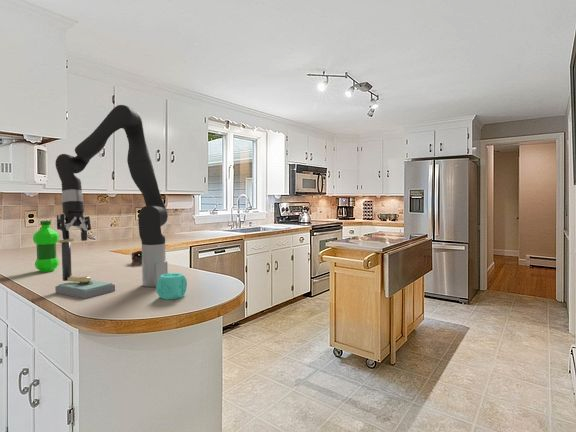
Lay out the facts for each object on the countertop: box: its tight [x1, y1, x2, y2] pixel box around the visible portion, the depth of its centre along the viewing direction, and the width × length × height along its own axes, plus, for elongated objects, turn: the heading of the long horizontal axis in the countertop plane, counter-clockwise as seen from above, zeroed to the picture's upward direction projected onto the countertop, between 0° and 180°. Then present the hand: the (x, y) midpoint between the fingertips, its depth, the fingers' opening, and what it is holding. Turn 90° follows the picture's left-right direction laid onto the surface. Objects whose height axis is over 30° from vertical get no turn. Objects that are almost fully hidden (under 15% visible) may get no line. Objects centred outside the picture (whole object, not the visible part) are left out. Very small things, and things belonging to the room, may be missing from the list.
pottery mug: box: [131, 250, 142, 266], centre depth 191 cm, size 12×10×8 cm
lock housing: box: [55, 279, 116, 299], centre depth 133 cm, size 18×12×3 cm, turn 63°
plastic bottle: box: [32, 220, 60, 273], centre depth 172 cm, size 10×10×25 cm
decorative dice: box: [155, 272, 188, 301], centre depth 127 cm, size 8×8×8 cm
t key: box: [57, 238, 92, 284], centre depth 134 cm, size 12×6×16 cm, turn 73°
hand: (75, 240), depth 142 cm, fingers open, 8 cm apart
